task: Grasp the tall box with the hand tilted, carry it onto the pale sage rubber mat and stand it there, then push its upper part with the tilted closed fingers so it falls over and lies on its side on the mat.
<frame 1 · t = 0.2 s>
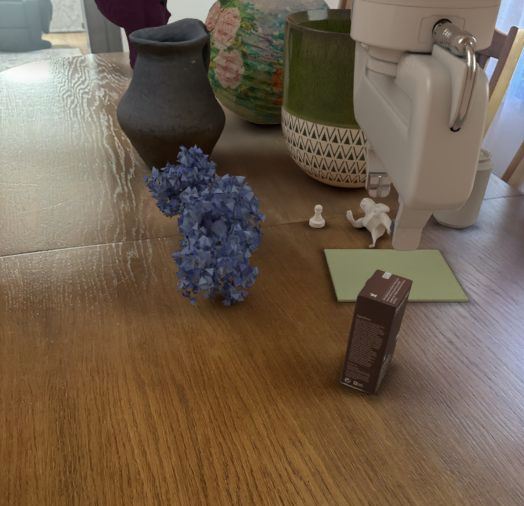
hand: (388, 218, 43), 23 cm above the table, tool pointing down, fingers open, 8 cm apart
pitcher: (177, 166, 113), on the table
mat: (391, 275, 82), on the table
chess pawn: (316, 225, 94), on the table
box: (366, 376, 64), on the table
can: (453, 221, 97), on the table
decorative sculpture: (206, 265, 83), on the table
floral painted vase: (268, 123, 136), on the table
figurine: (366, 231, 93), on the table
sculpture: (138, 73, 170), on the table
planter: (344, 179, 110), on the table
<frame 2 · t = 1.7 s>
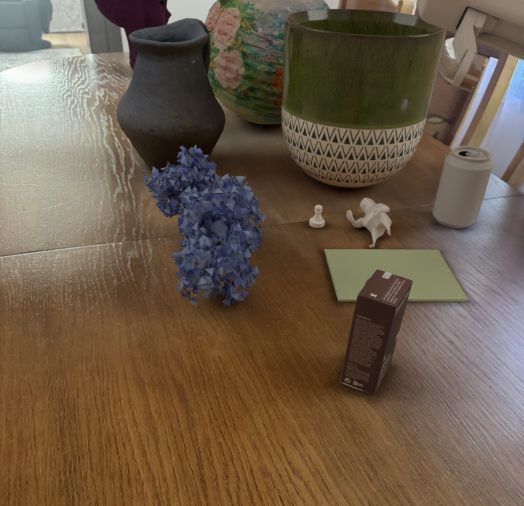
nothing on the table moved.
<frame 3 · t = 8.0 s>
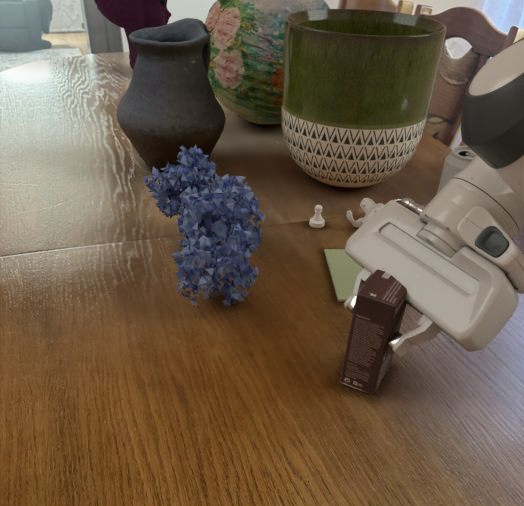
hand: (370, 330, 60), 7 cm above the table, tool tilted 45°, fingers closed on box, 6 cm apart
box: (366, 376, 64), on the table, touching gripper
everything else where it was.
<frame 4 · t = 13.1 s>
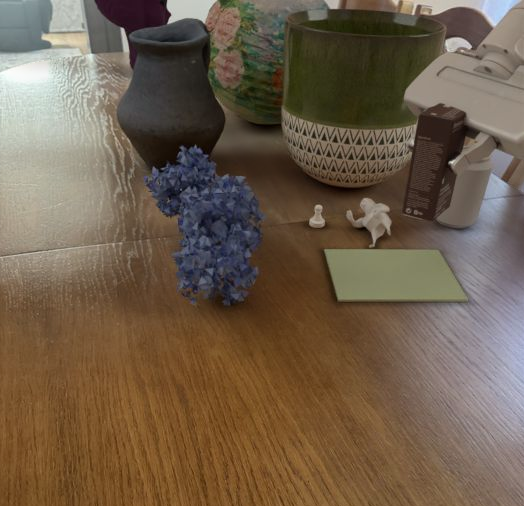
hand: (430, 160, 66), 19 cm above the table, tool tilted 45°, fingers closed on box, 6 cm apart
box: (426, 213, 70), point 12 cm above the table, touching gripper
everything else where it was.
when the fingers open (7 cm above the table, at t = 18.2 s): box stays where it is, resting on mat.
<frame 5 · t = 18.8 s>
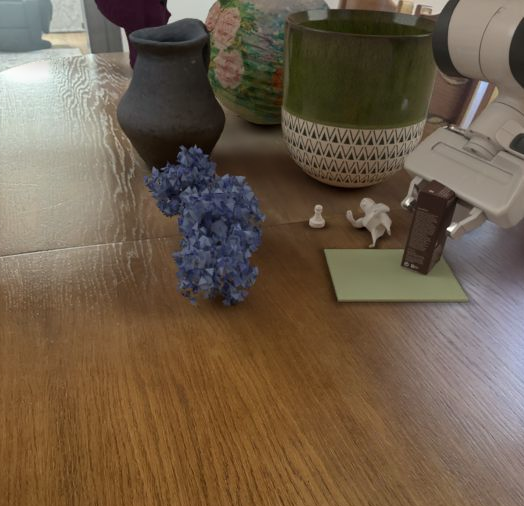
hand: (426, 222, 79), 8 cm above the table, tool tilted 45°, fingers open, 8 cm apart
box: (421, 265, 84), resting on mat
everything else where it was.
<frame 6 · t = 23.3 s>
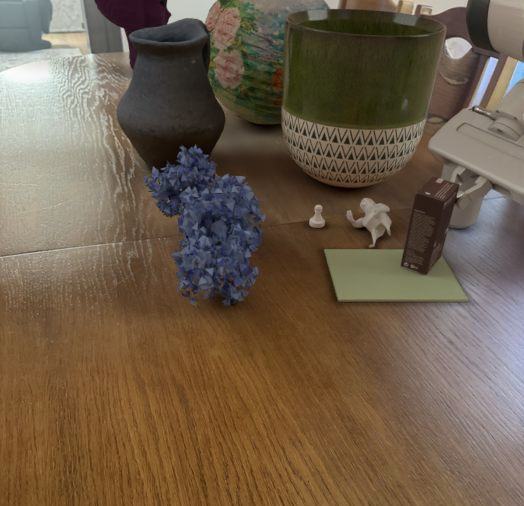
hand: (451, 202, 79), 9 cm above the table, tool tilted 45°, fingers closed
box: (421, 263, 84), resting on mat, touching gripper
everything else where it was.
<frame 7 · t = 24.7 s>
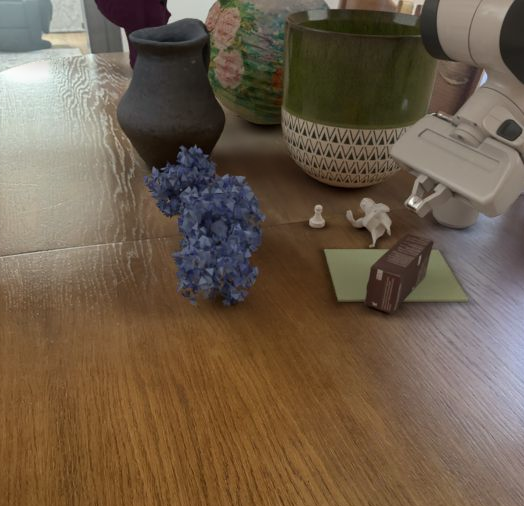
hand: (412, 211, 77), 10 cm above the table, tool tilted 45°, fingers closed
box: (418, 253, 80), point 3 cm above the table, touching mat
everything else where it was.
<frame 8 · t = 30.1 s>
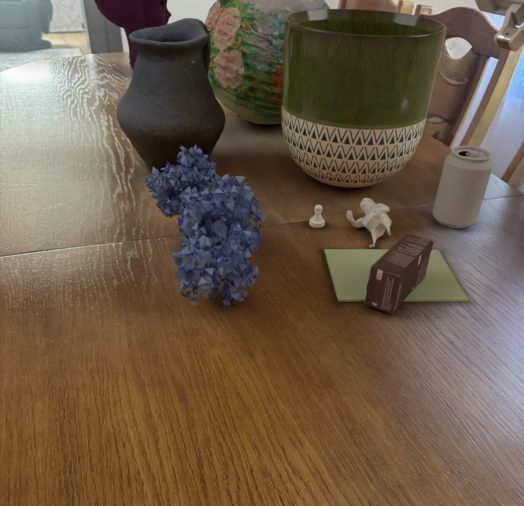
hand: (503, 45, 67), 29 cm above the table, tool tilted 45°, fingers closed
nothing on the table moved.
at the end: box tilted 91°; box inside the target area on the mat (3.3 cm from its centre), point 3.4 cm above the mat's base; the gripper is holding nothing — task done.
